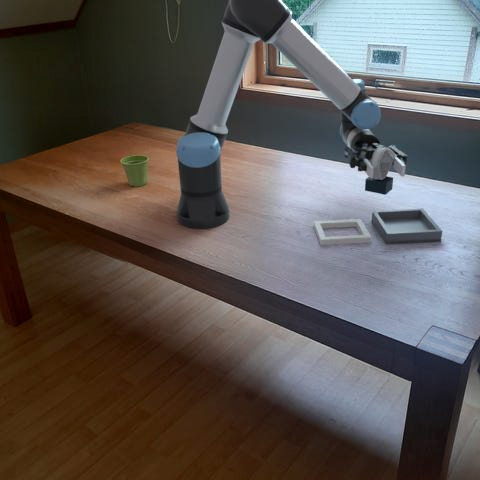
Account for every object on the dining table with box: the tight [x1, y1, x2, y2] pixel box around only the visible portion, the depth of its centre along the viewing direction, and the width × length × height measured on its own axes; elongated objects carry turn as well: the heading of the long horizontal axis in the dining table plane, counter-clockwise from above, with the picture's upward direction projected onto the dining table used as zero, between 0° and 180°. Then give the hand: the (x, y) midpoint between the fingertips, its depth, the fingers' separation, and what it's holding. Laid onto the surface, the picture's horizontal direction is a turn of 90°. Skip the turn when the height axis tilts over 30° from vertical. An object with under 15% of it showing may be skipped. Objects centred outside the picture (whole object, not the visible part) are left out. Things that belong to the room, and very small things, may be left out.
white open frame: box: [313, 218, 372, 246], centre depth 137 cm, size 13×11×2 cm
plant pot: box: [119, 154, 150, 188], centre depth 174 cm, size 9×9×9 cm
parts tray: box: [371, 208, 443, 245], centre depth 137 cm, size 14×14×3 cm
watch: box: [364, 146, 395, 196], centre depth 129 cm, size 6×8×11 cm
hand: (387, 171), depth 124 cm, fingers closed on watch, 7 cm apart
